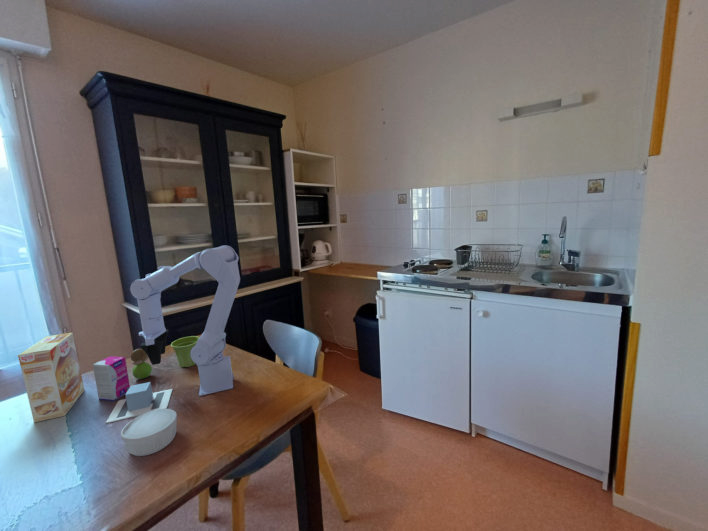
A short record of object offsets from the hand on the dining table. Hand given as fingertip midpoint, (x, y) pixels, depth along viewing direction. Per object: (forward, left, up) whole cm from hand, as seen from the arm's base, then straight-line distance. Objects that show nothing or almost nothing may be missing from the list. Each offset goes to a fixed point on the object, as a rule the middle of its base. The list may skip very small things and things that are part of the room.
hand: (158, 358), depth 100 cm
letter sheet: (+4, +9, -9) cm, 14 cm away
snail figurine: (+7, -10, -10) cm, 16 cm away
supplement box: (+13, -1, -10) cm, 16 cm away
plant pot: (-6, -14, -10) cm, 18 cm away
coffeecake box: (+27, -2, -10) cm, 28 cm away
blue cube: (+4, +9, -9) cm, 13 cm away
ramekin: (-2, +28, -10) cm, 30 cm away
